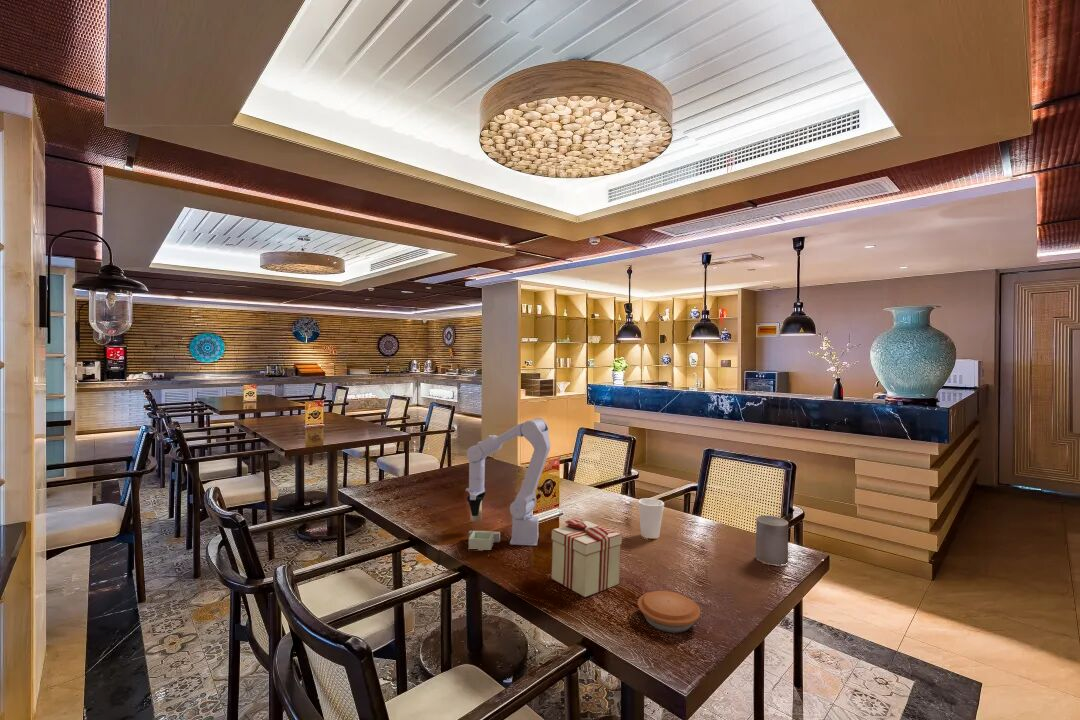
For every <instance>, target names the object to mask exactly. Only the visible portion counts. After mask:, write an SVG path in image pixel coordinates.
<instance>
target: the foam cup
mask: <svg viewBox="0 0 1080 720" xmlns="http://www.w3.org/2000/svg"><path fill="white" fill-rule="evenodd" d="M637 509H638V516H639V524H640V525H639V526H640V536H641V537H642V536H643V537H646V538H658V537H659V538H660V534H661V533H660V532H661V527H662V521H663V514H664V511H665V502H664V501H663V500H660V499H658V498H650V497H649V498H648V497H646V498H640V499H638V501H637ZM643 537H642V538H643Z"/></svg>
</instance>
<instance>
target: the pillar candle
mask: <svg viewBox="0 0 1080 720" xmlns="http://www.w3.org/2000/svg"><path fill="white" fill-rule="evenodd" d="M755 520H756V523H755V525H756V527H755V537H756V538H755V558H756V557H757V558H758V559H759V560H761V561H764V562H766V563H770V564H777V565H778V564H779V565H781V564H786V563H787V562H788V563H789V522H788V521H787V520H786V519H784V518H782V517H780V516H774V515H759V516H757V517H756V519H755Z"/></svg>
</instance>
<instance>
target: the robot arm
mask: <svg viewBox="0 0 1080 720" xmlns="http://www.w3.org/2000/svg"><path fill="white" fill-rule="evenodd" d="M549 430H550V427H549V426H548V424H547V423H546V421H545V420H544V419H542V418H539V417H537V418H533V419H531V420H527V421H524V422H522V423H519V424H516V425H514V426H512V427H511V428H510V429H508V430H506V431H505V432H503V433H502V434H499V435H496V434H493V435H492V434H490V435H488V436H486V439H484V440H482V441H481V440H480V441H477V444H476V445H472V446H471V445H470V447H469V448H468V449H467V451H466V457H467V459H468V460H469V465H468V466H469V467H468V472H469V473H468V487H467V488H465V492H468V493H469V495H468V496H466V501H467V502H468V505H469V507H470V514H471V513H472V516H478V513H479V507H480V503H481V500H482V502H483V501H484V497H485V496H486V488H485V477H486V476H485V475H486V474H485V473H486V471H485V468H486V458H487V457H488V456H491V455H492V454H494V453H496V452H497V451H500V450H501V449H502V448H503V444H505V443H507V442H508V441H509V442H510V441H511V440H512V439H514V438H517V437H521V438H522V437H523V438H525V439H526V440H527V441H528V442H529V443H530V444H531V445H532V448H533V452H532V455H531V458H530V460H529V463H528V467H527V470H526V473H525V476H524V479H523V482H522V485H521V487H520V490H519V491H518V493H517V494H516V496H515V499H514V500H513V501H512V503H510V505H509V506H510V507H509V512H510V514H511V516H512V525H511V526H512V528H511V531H512V532H511V539H510V541H509V545H514V546H515V545H517V546H535V547H536V546H538V540H539V538H540V537H539V535H540V534H539V533H540V532H539V517H538V516H534V514H533V511H534V509H535V508H536V504H537V503H536V497H537V494H536V491H537V488H538V484H539V481H540V478H541V476H542V473H543V470H544V467H545V464H546V461H547V458H548V455H549V452H550V450H551V441H550V436H549V435H550V434H549Z"/></svg>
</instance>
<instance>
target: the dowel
mask: <svg viewBox="0 0 1080 720" xmlns="http://www.w3.org/2000/svg"><path fill="white" fill-rule="evenodd" d="M482 504H483V501H482V500H481V503H480V507H479V513H478V516H472V513H471V512H470V521H471V522H472V523H479V522H482V513H483V512H482V511H483V509H482V508H483V505H482Z"/></svg>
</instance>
